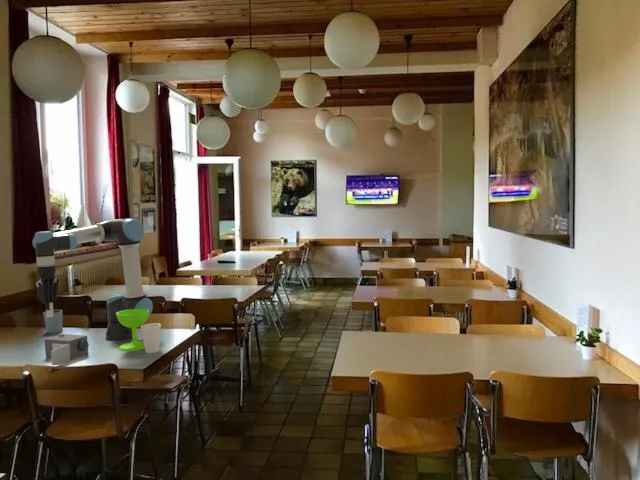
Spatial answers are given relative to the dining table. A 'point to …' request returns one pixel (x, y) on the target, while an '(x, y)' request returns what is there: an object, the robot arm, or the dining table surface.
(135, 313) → the wineglass
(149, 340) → the foam cup
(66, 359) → the side door
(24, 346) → the dining table surface
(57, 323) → the drinking glass
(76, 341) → the camera body
